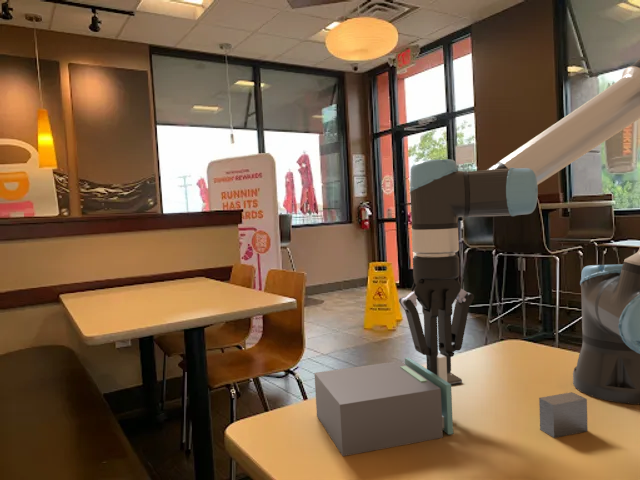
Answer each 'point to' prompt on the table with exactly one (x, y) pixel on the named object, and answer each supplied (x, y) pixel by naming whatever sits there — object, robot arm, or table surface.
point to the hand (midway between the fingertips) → (439, 392)
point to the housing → (377, 407)
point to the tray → (445, 393)
